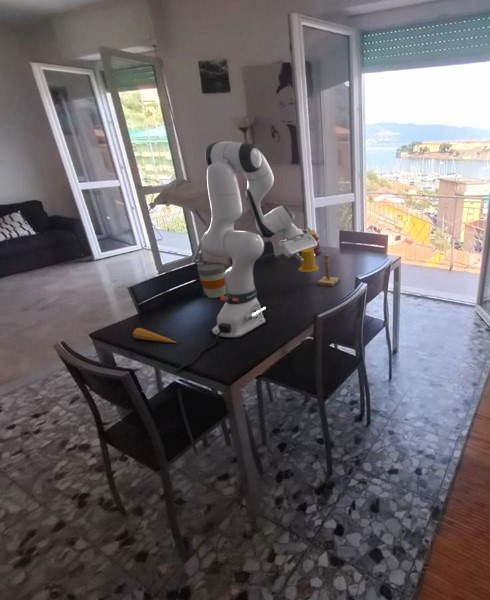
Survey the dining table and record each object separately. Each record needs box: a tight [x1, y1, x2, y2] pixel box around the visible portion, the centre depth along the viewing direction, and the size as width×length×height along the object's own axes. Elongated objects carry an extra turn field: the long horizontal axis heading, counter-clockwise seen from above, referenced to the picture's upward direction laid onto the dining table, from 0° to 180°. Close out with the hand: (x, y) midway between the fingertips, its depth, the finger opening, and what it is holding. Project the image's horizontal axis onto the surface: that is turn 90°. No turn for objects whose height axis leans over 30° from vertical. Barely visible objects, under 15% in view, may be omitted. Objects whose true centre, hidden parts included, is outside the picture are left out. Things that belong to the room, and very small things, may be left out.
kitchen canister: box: [306, 227, 321, 256], centre depth 237 cm, size 13×13×18 cm
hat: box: [297, 248, 320, 273], centre depth 177 cm, size 10×10×10 cm
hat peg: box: [316, 253, 340, 287], centre depth 189 cm, size 9×9×16 cm
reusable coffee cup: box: [197, 261, 227, 299], centre depth 177 cm, size 13×13×15 cm
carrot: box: [132, 327, 178, 344], centre depth 139 cm, size 20×4×4 cm, turn 74°
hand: (308, 258), depth 177 cm, fingers closed on hat, 6 cm apart
